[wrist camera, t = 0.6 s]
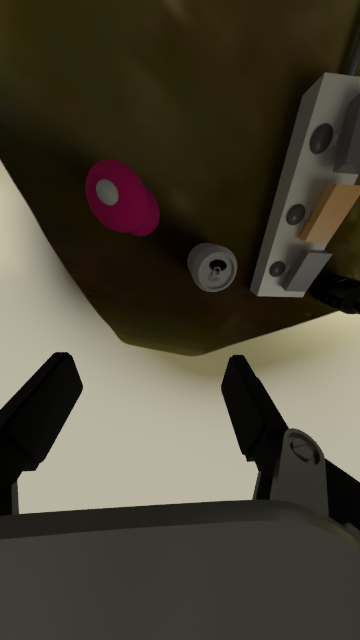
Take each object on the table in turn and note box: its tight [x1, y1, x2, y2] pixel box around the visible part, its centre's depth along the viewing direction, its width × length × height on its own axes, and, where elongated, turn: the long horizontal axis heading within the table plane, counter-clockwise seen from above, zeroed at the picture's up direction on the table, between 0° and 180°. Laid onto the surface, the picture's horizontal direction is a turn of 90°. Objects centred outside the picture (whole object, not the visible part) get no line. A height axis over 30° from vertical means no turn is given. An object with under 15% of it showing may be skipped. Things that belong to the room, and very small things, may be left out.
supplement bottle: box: [312, 274, 360, 314], centre depth 35 cm, size 7×7×12 cm
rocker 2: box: [281, 249, 332, 292], centre depth 31 cm, size 8×5×2 cm, turn 177°
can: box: [187, 243, 237, 292], centre depth 30 cm, size 8×8×12 cm
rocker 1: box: [299, 183, 360, 243], centre depth 27 cm, size 8×5×2 cm, turn 177°
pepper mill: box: [85, 159, 160, 236], centre depth 22 cm, size 7×7×20 cm
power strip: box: [250, 32, 360, 297], centre depth 28 cm, size 39×11×5 cm, turn 177°
